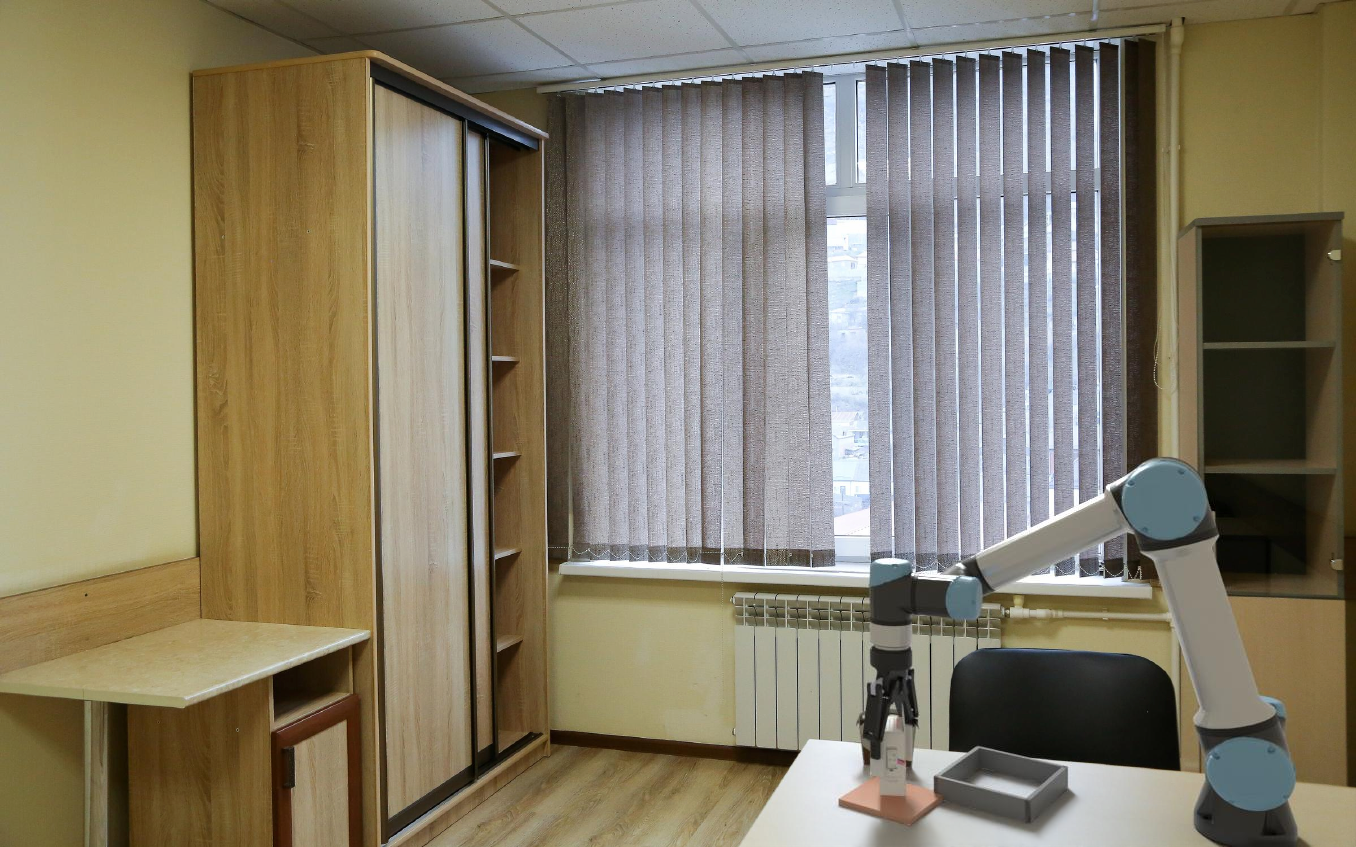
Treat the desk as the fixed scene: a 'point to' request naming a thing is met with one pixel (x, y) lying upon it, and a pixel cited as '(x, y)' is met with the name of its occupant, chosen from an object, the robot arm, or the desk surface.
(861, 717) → the food container
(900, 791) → the ink cartridge box
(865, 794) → the terracotta tile
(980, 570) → the robot arm
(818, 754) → the desk surface
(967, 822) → the desk surface
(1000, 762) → the parts bin
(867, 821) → the desk surface
